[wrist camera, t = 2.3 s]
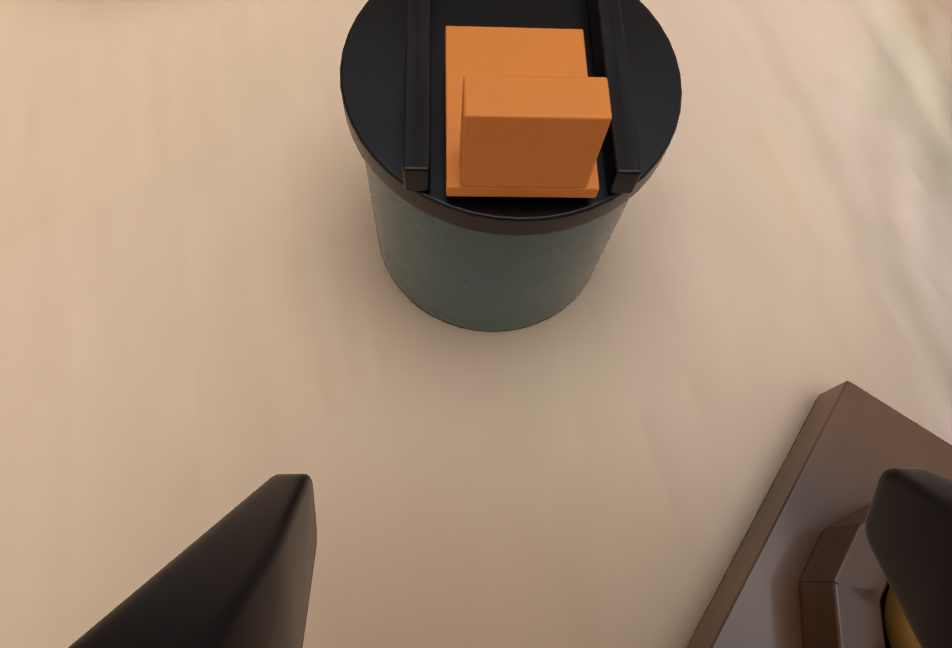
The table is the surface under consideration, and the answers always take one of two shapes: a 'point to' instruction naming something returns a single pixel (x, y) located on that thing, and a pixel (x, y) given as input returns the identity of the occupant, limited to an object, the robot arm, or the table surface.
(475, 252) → the tumbler
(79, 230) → the table surface
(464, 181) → the slider
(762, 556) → the block
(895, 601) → the call button
